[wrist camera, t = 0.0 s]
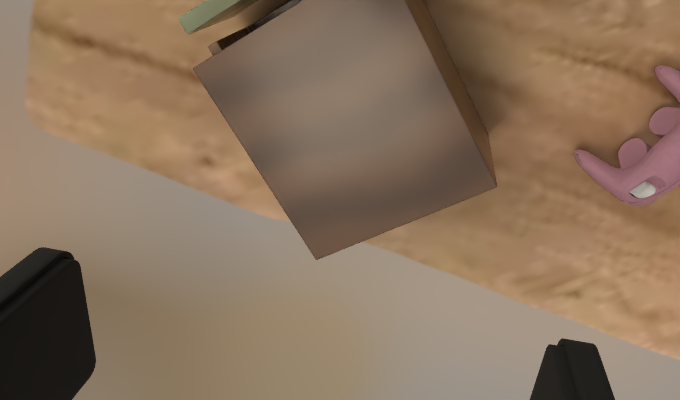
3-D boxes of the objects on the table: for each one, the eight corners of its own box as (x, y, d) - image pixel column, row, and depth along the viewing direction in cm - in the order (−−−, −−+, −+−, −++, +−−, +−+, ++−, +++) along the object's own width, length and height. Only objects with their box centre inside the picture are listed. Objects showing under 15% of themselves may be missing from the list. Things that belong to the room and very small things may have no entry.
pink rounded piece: (597, 172, 47) (648, 226, 42) (564, 154, 45) (613, 209, 40) (691, 78, 43) (760, 127, 38) (659, 54, 41) (729, 101, 35)
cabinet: (244, 40, 46) (192, 68, 37) (398, -54, 41) (381, -49, 32) (340, 200, 52) (316, 260, 42) (488, 134, 46) (497, 187, 37)
